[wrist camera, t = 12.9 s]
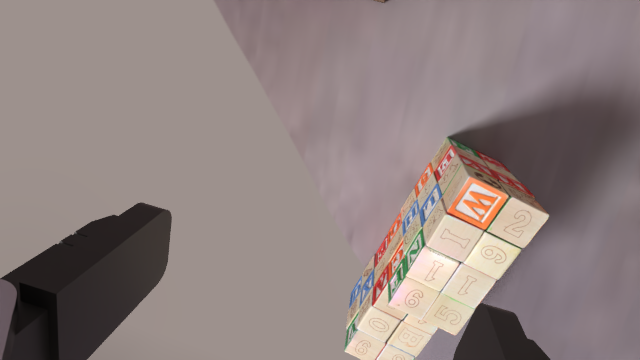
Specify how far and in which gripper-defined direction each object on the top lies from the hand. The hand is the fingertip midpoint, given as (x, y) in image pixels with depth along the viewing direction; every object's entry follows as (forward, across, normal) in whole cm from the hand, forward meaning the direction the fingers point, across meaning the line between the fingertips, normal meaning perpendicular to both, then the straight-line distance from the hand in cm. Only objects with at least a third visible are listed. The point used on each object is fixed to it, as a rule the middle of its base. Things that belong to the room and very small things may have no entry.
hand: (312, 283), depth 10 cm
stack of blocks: (+30, -9, +12) cm, 34 cm away
